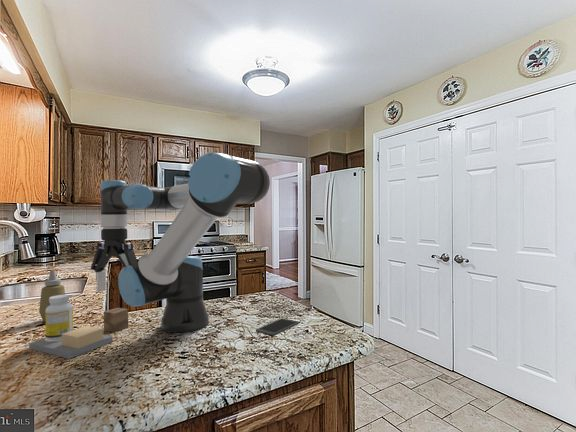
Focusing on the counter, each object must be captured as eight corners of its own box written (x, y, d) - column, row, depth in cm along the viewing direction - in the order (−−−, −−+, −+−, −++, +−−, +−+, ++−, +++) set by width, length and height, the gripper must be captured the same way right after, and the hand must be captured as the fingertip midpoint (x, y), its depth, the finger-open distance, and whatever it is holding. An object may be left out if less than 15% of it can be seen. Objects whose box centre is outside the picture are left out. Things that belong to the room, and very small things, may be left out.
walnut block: (128, 327, 103) (128, 309, 103) (114, 332, 99) (114, 313, 99) (117, 325, 105) (117, 307, 105) (103, 330, 101) (103, 311, 101)
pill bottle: (63, 331, 95) (62, 293, 96) (78, 333, 93) (77, 294, 94) (40, 339, 89) (39, 298, 89) (56, 341, 87) (55, 299, 87)
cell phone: (254, 332, 97) (254, 329, 97) (282, 320, 108) (282, 317, 108) (272, 337, 93) (272, 334, 93) (299, 324, 104) (299, 321, 104)
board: (112, 341, 91) (112, 326, 91) (69, 358, 80) (69, 341, 80) (73, 333, 98) (73, 319, 98) (29, 348, 87) (28, 332, 87)
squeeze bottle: (52, 324, 107) (51, 272, 108) (33, 323, 109) (32, 271, 109) (72, 317, 115) (71, 268, 115) (54, 316, 117) (53, 268, 117)
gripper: (151, 227, 101) (152, 293, 100) (99, 227, 111) (100, 287, 111) (131, 228, 94) (132, 299, 94) (78, 228, 104) (79, 292, 104)
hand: (115, 292), depth 102 cm, fingers open, 13 cm apart
